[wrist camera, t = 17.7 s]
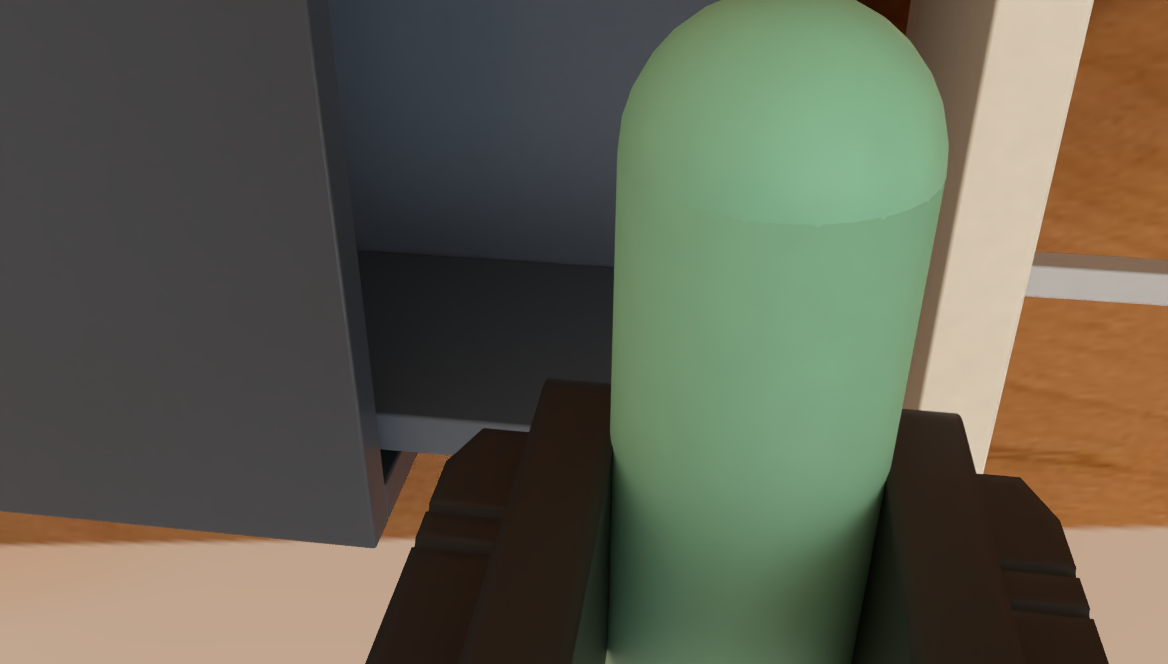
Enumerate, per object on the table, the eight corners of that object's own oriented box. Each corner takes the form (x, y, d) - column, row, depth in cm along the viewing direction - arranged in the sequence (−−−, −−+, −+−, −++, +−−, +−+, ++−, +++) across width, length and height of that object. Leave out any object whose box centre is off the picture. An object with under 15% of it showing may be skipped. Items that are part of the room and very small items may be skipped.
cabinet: (455, -365, 20) (258, -385, 12) (488, 296, 27) (376, 550, 19) (-275, -364, 22) (-850, -380, 14) (-66, 257, 29) (-372, 476, 21)
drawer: (1407, -325, 18) (1752, -318, 11) (1187, 342, 24) (1334, 577, 18) (252, -327, 20) (20, -323, 14) (332, 282, 26) (198, 472, 20)
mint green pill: (806, 786, 12) (815, 983, 11) (611, 762, 13) (586, 952, 11) (949, -43, 8) (1010, 51, 6) (637, -54, 8) (603, 31, 6)
